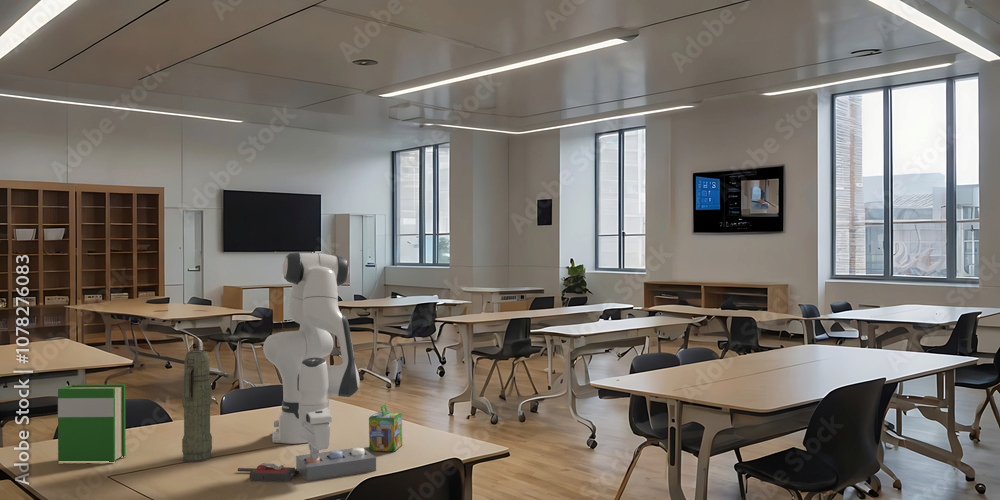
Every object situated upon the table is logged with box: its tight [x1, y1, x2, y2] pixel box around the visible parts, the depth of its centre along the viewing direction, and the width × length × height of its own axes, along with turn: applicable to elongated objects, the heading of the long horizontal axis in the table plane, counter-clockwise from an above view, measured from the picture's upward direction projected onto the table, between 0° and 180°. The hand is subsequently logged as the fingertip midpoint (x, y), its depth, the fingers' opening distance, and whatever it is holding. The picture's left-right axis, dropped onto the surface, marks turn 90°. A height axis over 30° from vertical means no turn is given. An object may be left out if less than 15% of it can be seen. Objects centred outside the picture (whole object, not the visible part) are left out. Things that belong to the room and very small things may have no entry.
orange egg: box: [306, 456, 320, 463], centre depth 220 cm, size 4×4×3 cm
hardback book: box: [57, 383, 127, 462], centre depth 235 cm, size 18×7×24 cm, turn 90°
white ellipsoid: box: [351, 447, 365, 457], centre depth 227 cm, size 4×4×3 cm
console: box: [295, 446, 377, 482], centre depth 224 cm, size 14×21×4 cm, turn 119°
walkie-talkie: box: [237, 462, 300, 483], centre depth 217 cm, size 9×4×20 cm
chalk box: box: [368, 403, 403, 453], centre depth 248 cm, size 9×9×15 cm
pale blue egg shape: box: [328, 449, 343, 460], centre depth 224 cm, size 4×4×3 cm
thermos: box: [181, 349, 213, 463], centre depth 237 cm, size 9×12×35 cm
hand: (314, 458), depth 220 cm, fingers closed, pressing on orange egg
